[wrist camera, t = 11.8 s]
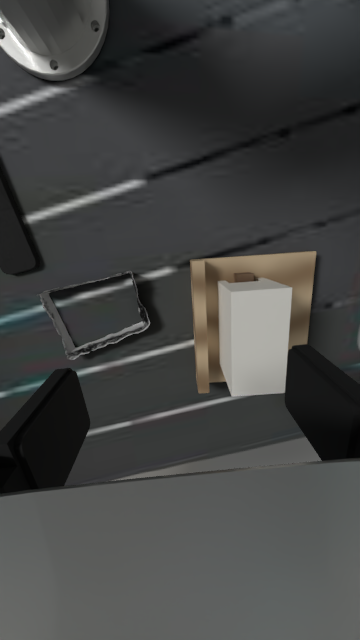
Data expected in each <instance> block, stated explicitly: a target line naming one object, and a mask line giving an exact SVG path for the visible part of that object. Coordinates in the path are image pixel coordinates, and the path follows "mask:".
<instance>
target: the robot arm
mask: <svg viewBox="0 0 360 640" xmlns="http://www.w3.org/2000/svg"><path fill="white" fill-rule="evenodd" d="M108 22H109V0H0V47H1V48H2V49H3V50H4V51H5V53H6V54H7V55H8V56H9V57H10V58H11V59H12V60H13V61H14V62H15V63H16V64H17V65H18V66H19V67H21V68H22V69H24V70H25V71H27V72H28V73H30V74H32V75H34V76H36V77H39V78H42V79H46V80H51V81H59V80H66V79H70V78H73V77H75V76H77V75H79V74H81V73H82V72H84V71H85V70H86V69H87V68H88V67H89V66H90V65H91V64H92V63H93V62H94V60H95V59H96V57H97V56H98V54H99V52H100V50H101V48H102V46H103V44H104V41H105V37H106V33H107V29H108ZM285 404H286V407H287V409H288V411H289V412H290V414H291V415H292V417H293V418H294V420H295V421H296V423H297V424H298V426H299V427H300V429H301V430H302V432H303V433H304V435H305V436H306V438H307V439H308V440H309V442H310V443H311V445H312V446H313V448H314V449H315V451H316V452H317V454H318V455H319V457H320V458H321V460H322V461H314V462H303V463H292V464H281V465H270V466H260V467H248V468H239V469H228V470H217V471H207V472H196V473H186V474H176V475H167V476H156V477H147V478H136V479H127V480H117V481H108V482H98V483H89V484H79V485H70V486H64V484H65V482H66V480H67V478H68V475H69V473H70V471H71V469H72V466H73V464H74V462H75V460H76V457H77V455H78V453H79V450H80V448H81V446H82V444H83V441H84V439H85V437H86V435H87V432H88V430H89V427H90V418H89V415H88V411H87V408H86V404H85V401H84V397H83V394H82V390H81V387H80V383H79V380H78V376H77V373H76V372H75V371H72V369H71V368H66V369H57V370H55V371H54V372H53V373H52V374H51V375H50V376H49V378H48V379H47V380H46V381H45V382H44V383H43V384H42V385H41V386H40V388H39V389H38V390H37V391H36V392H35V393H34V394H33V395H32V397H31V398H30V399H29V400H28V401H27V402H26V403H25V404H24V405H23V407H22V408H21V409H20V410H19V411H18V412H17V413H16V414H15V416H14V417H13V418H12V419H11V420H10V421H9V422H8V423H7V424H6V426H5V427H4V428H3V429H2V430H1V431H0V640H360V385H359V384H358V383H357V382H356V381H354V380H353V379H352V378H350V377H349V376H348V375H347V374H345V373H344V372H343V371H342V370H340V369H339V368H338V367H336V366H335V365H334V364H333V363H331V362H330V361H329V360H327V359H326V358H325V357H324V356H322V355H321V354H320V353H319V352H317V351H316V350H315V349H313V348H312V347H311V346H310V345H308V344H303V345H293V346H292V349H289V350H288V357H287V373H286V390H285Z"/></svg>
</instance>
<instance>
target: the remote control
mask: <svg viewBox="0 0 360 640" xmlns="http://www.w3.org/2000/svg"><path fill="white" fill-rule="evenodd" d="M39 265H40V260H39V258H38V256H37V253H36V251H35V249H34V246H33V244H32V241H31V239H30V237H29V234H28V232H27V229H26V227H25V225H24V222H23V220H22V218H21V215H20V213H19V210H18V208H17V206H16V203H15V201H14V198H13V196H12V194H11V191H10V189H9V187H8V184H7V182H6V179H5V177H4V175H3V172H2V170H1V167H0V268H1V270H2V271H3V272H4V273H6V274H19V273H23V272H26V271H30V270H34V269H37V268H38V267H39Z"/></svg>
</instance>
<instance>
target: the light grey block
mask: <svg viewBox="0 0 360 640" xmlns="http://www.w3.org/2000/svg"><path fill="white" fill-rule="evenodd" d="M291 299H292V287H289V286H286V285H284V284H281V283H278V282H275V281H272V280H269V279H266V278H256V281H252V282H238V283H228V282H227V281H225V280H224V281H218V319H219V361H220V366H221V368H222V371H223V374H224V377H225V379H226V382H227V385H228V387H229V390H230V393H231V396H246V395H261V394H276V393H285V383H286V369H287V355H288V341H289V327H290V313H291Z"/></svg>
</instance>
